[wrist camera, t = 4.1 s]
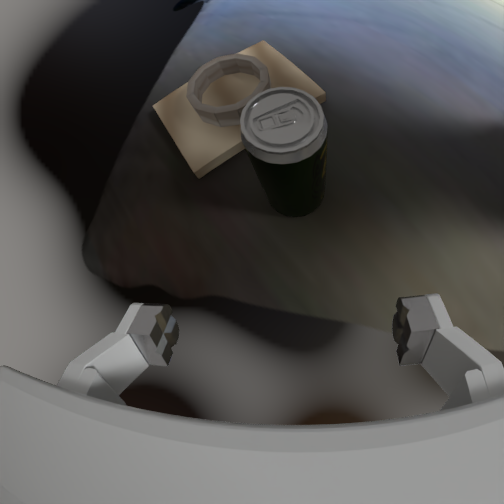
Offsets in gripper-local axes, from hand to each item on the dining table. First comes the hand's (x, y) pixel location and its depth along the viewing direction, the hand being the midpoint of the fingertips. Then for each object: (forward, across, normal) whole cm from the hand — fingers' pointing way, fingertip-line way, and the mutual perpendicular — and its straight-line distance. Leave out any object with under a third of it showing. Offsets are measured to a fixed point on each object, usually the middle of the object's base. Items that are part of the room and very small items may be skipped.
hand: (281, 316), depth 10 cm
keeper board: (+27, +6, -5) cm, 28 cm away
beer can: (+19, 0, +4) cm, 20 cm away
